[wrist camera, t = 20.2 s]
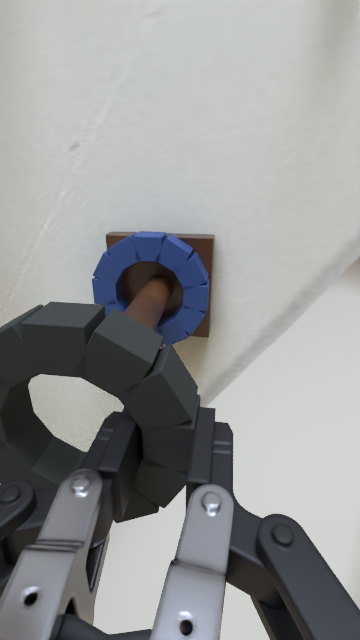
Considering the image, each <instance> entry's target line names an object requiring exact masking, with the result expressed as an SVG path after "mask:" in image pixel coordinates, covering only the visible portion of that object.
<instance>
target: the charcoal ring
mask: <svg viewBox="0 0 360 640" xmlns="http://www.w3.org/2000/svg"><path fill="white" fill-rule="evenodd" d="M163 339H164V337H163V336H161V335H159V334H158V333H156V332H154V331H153V330H151V329H149V328H148V327H146V326H144V325H142V324H141V323H139V322H137V321H136V320H134V319H132V318H131V317H129V316H127V315H125V314H124V313H122V312H120V311H119V310H117V309H115V308H114V309H113V310H112V311H111V312H110V313H109V314H108V315H107V317H106V314H105V306H104V305H97V304H80V303H62V302H50V303H48V304H47V305H45V306H43V305H38V306H36V307H35V308H33V309H31V310H29V311H28V312H26V313H24V314H22V315H21V316H19V317H17V318H16V319H14V320H12V321H10V322H9V323H7V324H5V325H3V326H2V327H0V483H1V484H3V483H5V482H7V481H9V480H12V479H18V478H23V479H27V480H29V481H30V482H31V483H32V484H33V486H34V489H39V488H45V487H51V486H56V485H59V484H61V483H62V481H63V480H64V478H65V477H66V476H68V475H69V474H70V473H72V472H74V471H76V470H79V468H80V466H81V464H82V462H83V461H84V459H85V457H86V455H87V453H88V452H83V451H81V450H79V449H77V448H75V447H73V446H71V445H70V444H68V443H66V442H64V441H62V440H60V439H58V438H56V437H55V436H53V434H52V433H51V432H50V431H49V430H48V429H47V427H46V426H45V425H44V424H43V423H42V421H41V420H40V419H39V418H38V417H37V415H36V414H35V413H34V412H33V407H32V403H31V398H30V394H29V389H28V384H29V382H30V380H31V378H33V377H35V376H37V375H39V374H47V375H58V376H69V377H81V378H83V379H85V380H86V381H88V382H90V383H92V384H94V385H95V386H97V387H99V388H101V389H103V390H104V391H106V392H108V393H110V394H111V395H113V396H115V397H117V398H119V400H120V401H121V402H122V404H123V405H124V406H125V408H126V409H127V411H128V412H129V413H130V415H131V416H132V417H133V419H134V420H135V422H136V423H137V424H138V426H139V427H140V428H141V430H142V447H143V454H142V457H141V461H140V464H139V469H138V472H137V475H136V478H135V482H134V485H133V488H132V491H131V494H130V497H129V501H128V504H127V507H126V510H125V513H124V516H123V519H122V520H120V519H113V520H114V521H115V522H116V523H119V522H123V521H127V520H131V519H135V518H138V517H142V516H146V515H150V514H153V513H157V512H158V511H159V506H161V507H163V508H165V507H166V506H167V505H168V504H169V503H170V502H171V501H172V500H173V498H174V497H175V496H176V495H177V494H178V493H179V492H180V491H181V490H182V489H183V487H184V486H185V485H186V479H187V473H188V466H189V460H190V453H191V447H192V440H193V434H194V427H195V421H196V414H197V408H198V407H200V395H197V389H198V386H197V385H196V383H195V381H194V380H193V378H192V377H191V375H190V373H189V372H188V370H187V369H186V367H185V365H184V364H183V362H182V361H181V359H180V357H179V356H178V354H177V353H176V351H175V350H174V348H173V346H172V345H171V344H169V345H167V346H165V347H163V348H161V349H159V348H160V346H161V343H162V341H163Z"/></svg>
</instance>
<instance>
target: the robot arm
mask: <svg viewBox="0 0 360 640" xmlns="http://www.w3.org/2000/svg"><path fill="white" fill-rule="evenodd" d="M142 454H143V447H142V430H141V428H140V427H139V426H138V424H137V423H136V422H135V420H134V419H133V417H132V416H131V415H130V413H129V412H128V411H127V409H126V408H125V407H124V409H123V411H122V412H115V411H114V412H113V413H111V414H110V415H109V416H108V417H107V418H106V419H105V420H104V422H103V424H102V426H101V427H100V431H98V433H97V435H96V438H95V439H94V441H93V443H92V445H91V447H90V449H89V451H88V453H87V455H86V457H85V459H84V461H83V462H82V464H81V466H80V468H79V470H76V471H74V472H72V473H70V474H69V475H68V476H66V477H65V478H64V480H63V481H62V483H61V484H59V485H56V486H51V487H45V488H39V489H34V486H33V484H32V483H31V482H30V481H29V480H27V479H23V478H18V479H12V480H9V481H7V482H5V483H3V484H1V485H0V640H219V639H220V630H221V621H222V613H223V603H224V595H225V586H226V582H228V583H229V584H231V585H233V586H235V587H237V588H238V589H240V590H242V591H244V592H245V593H247V594H249V595H250V596H251V599H252V602H253V604H254V606H255V608H256V610H257V612H258V614H259V617H260V619H261V621H262V623H263V625H264V627H265V629H266V632H267V634H268V636H269V638H270V640H360V610H359V608H358V607H357V605H356V604H355V603H354V601H353V600H352V598H351V597H350V595H349V594H348V593H347V591H346V590H345V588H344V587H343V585H342V584H341V583H340V581H339V580H338V578H337V577H336V575H335V574H334V573H333V572H332V570H331V569H330V567H329V566H328V564H327V563H326V561H325V560H324V558H323V557H322V556H321V554H320V553H319V551H318V550H317V549H316V547H315V546H314V544H313V543H312V541H311V540H310V538H309V537H308V536H307V534H306V533H305V531H304V530H303V529H302V527H301V526H300V525H299V524H298V523H297V522H296V521H295V520H293V519H292V518H290V517H288V516H285V515H282V514H271V515H268V516H266V517H264V518H260V517H258V516H256V515H254V514H252V513H250V512H248V511H246V510H245V509H244V508H243V507H242V506H240V504H239V503H238V502H237V500H236V499H235V496H234V493H233V433H232V430H231V429H230V426H229V425H228V423H222V422H215V409H214V408H204V407H198V408H197V414H196V421H195V427H194V434H193V440H192V447H191V453H190V460H189V466H188V473H187V479H186V516H185V520H184V524H183V528H182V532H181V535H180V539H179V543H178V547H177V551H176V555H175V559H174V560H172V561H171V563H170V566H169V568H168V572H167V575H166V579H165V583H164V587H163V590H162V594H161V598H160V602H159V606H158V609H157V613H156V617H155V621H154V625H153V629H152V630H151V629H147V630H140V631H133V632H126V633H119V634H111V635H110V634H106V633H104V632H102V631H101V630H99V629H97V628H96V627H94V626H93V620H94V605H95V598H96V593H97V589H98V585H99V581H100V576H101V572H102V568H103V564H104V559H105V555H106V551H107V547H108V542H109V530H110V527H111V525H112V522H113V519H120V520H122V519H123V516H124V513H125V510H126V507H127V504H128V501H129V497H130V494H131V491H132V488H133V485H134V482H135V478H136V475H137V472H138V469H139V464H140V461H141V457H142Z"/></svg>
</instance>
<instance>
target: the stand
mask: <svg viewBox="0 0 360 640" xmlns="http://www.w3.org/2000/svg"><path fill="white" fill-rule="evenodd" d="M134 233H136V234H137V233H139V232H110V233H108V234H106V243H107V249H108V248H110V247H111V246H113V245H115V244H116V243H118V242H120V241H121V240H123V239H125V238H127V237H128V236H130V235H132V234H134ZM170 234H172V233H166V238H167V237H168V236H169V235H170ZM172 235H173V236H175V237H177V238H178V239H180V240H181V241H183V242H184V243H186V244H188V245H189V246H191V247H192V248H193V250H192V252H191V254H193V253H195V252H197V253H198V255H199V257H200V259H201V261H202V263H203V265H204V267H205V269H206V270H207V272H208V279H210V283H209V302H208V308H207V311H206V314H205V317H204V318H203V320H202V321H201V322H200V324H199V325H198V327H197V328H196V329H195V331H194V332H193V334H192V335H191V334H189V336H195V337H209V333H210V318H211V296H212V274H213V253H214V235H205V234H172ZM191 254H190V255H191ZM123 294H124V296H125V297H126V299H127V300H128V302H129V304H130V305H129V306H128V307H127V309H126V310H125V311H124V314H125V315H127V316H129V317H131V318H132V319H134V320H136V321H137V322H139V323H141V324H142V325H144V326H146V327H148V328H149V329H151V330H153V331H154V330H155V328H156V326H157V324H158V322H159V320H160V318H163V317H166V316H168V315H170V314H172V313H174V312H176V311H177V310H178V309H179V307H180V306H181V304H182V303H183V287H182V286H181V284H180V282H179V280H178V278H177V277H176V275H175V273H174V272H173V271H171V270H170V269H168V268H166V267H165V266H163V265H161V264H160V263H158V262H147V261H139V262H137V263H135V264H133V265H131V266H129V267H128V268H127V270H126V272H125V274H124V276H123Z"/></svg>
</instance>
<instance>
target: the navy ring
mask: <svg viewBox="0 0 360 640" xmlns="http://www.w3.org/2000/svg"><path fill="white" fill-rule="evenodd" d="M192 250H193V248H192V247H191V246H189V245H188V244H186V243H184V242H183V241H181V240H180V239H178V238H177V237H175V236H173V235H172V234H170V235H169V236H168V237H167V238H166V233H165V232H144V231H141V232H139V233H137V234H136V233H134V234H132V235H130V236H128V237H127V238H125V239H123V240H121V241H120V242H118V243H116V244H115V245H113V246H111V247H110V248H108V249H107V251H106V252H105V253H103V255H102V257H101V259H100V261H99V263H98V265H97V267H96V270H95V272H94V274H93V275H94V276H95V278H93V279H92V283H93V293H94V303H95V304H99V305H104V306H105V314H106V317H107V315H108V314H109V313H110V312H111V311H112V310H113V309H114V308H115V309H117V310H119V311H120V312H122V313H124V311H125V310H126V309H127V307H128V306H129V305H130V304H129V302H128V300H127V299H126V297H125V296H124V294H123V276H124V274H125V272H126V270H127V268H128V267H129V266H131V265H133V264H135V263H137V262H139V261H147V262H158V263H160V264H161V265H163V266H165V267H166V268H168V269H170V270H171V271H173V272H174V273H175V275H176V277H177V278H178V280H179V282H180V284H181V286H182V287H183V303H182V304H181V306H180V307H179V309H178V310H177V311H176V312H174V313H172V314H170V315H168V316H166V317H163V318H160V320H159V322H158V324H157V326H156V328H155V330H154V332H156V333H158V334H159V335H161V336H163V337H164V339H163V341H162V343H161V346H160V347H163V345H164V343H165V345H166V346H167V345H169V344H171V345H172V344H174V343H176V342H179V341H181V340H183V339H186V338H188V336H189V334H191V335H192V334H193V332H194V331H195V329H196V328H197V327H198V325H199V324H200V322H201V321H202V320H203V318H204V317H205V314H206V311H207V308H208V302H209V283H210V279H208V272H207V270H206V269H205V267H204V265H203V263H202V261H201V259H200V257H199V255H198V253H197V252H195V253H193V254H191V252H192ZM190 254H191V255H190Z"/></svg>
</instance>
